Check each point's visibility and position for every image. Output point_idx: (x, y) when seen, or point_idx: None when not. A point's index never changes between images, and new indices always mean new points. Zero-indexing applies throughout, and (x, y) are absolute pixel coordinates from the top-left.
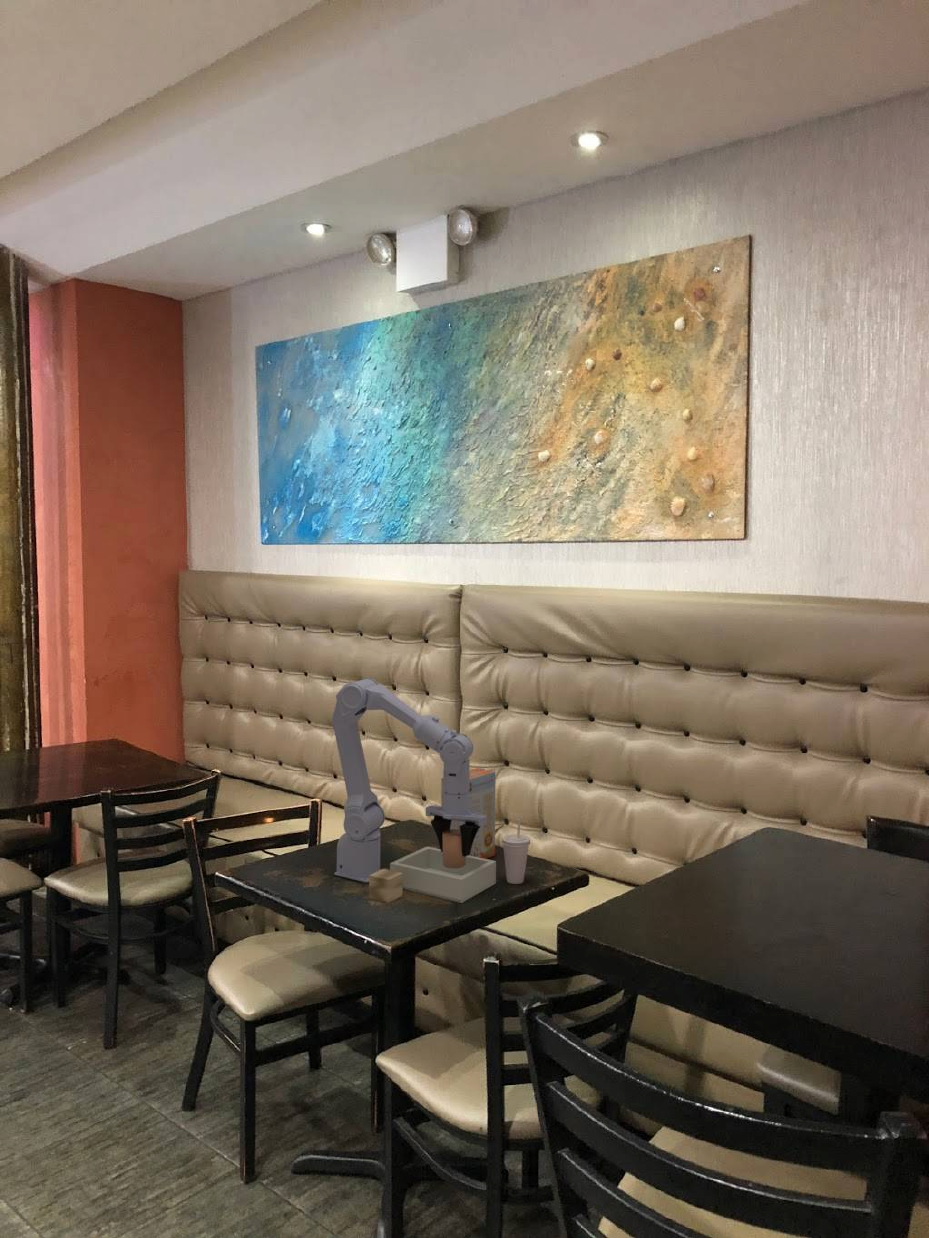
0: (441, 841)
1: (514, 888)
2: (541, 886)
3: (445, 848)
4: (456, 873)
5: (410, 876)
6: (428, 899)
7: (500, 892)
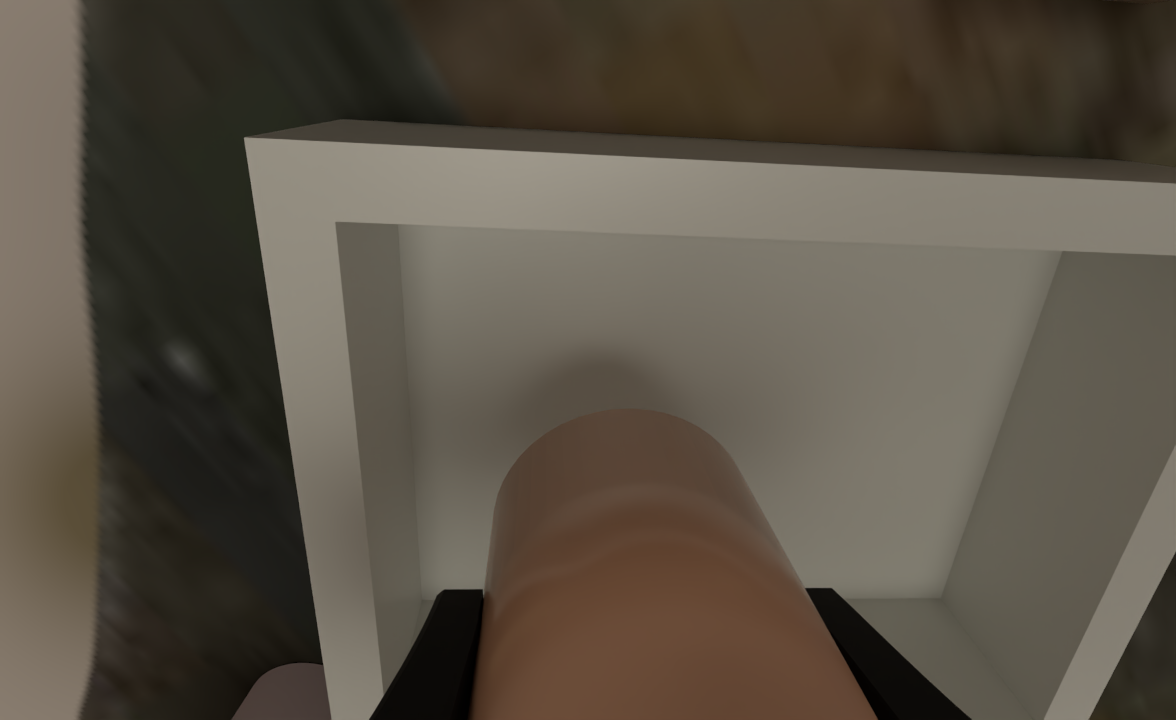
0: (890, 700)
1: (219, 605)
2: (104, 711)
3: (729, 560)
4: None
5: (989, 163)
6: (659, 37)
7: (245, 499)
